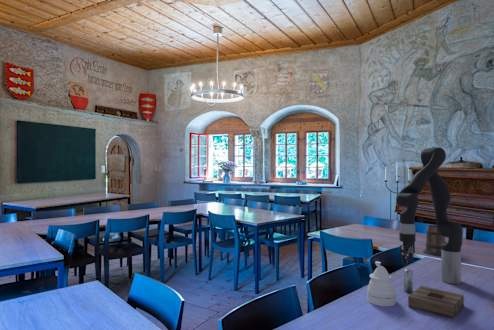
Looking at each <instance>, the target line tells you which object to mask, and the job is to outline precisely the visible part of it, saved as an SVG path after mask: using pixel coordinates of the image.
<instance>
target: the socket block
mask: <svg viewBox="0 0 494 330" xmlns="http://www.w3.org/2000/svg"><path fill="white" fill-rule="evenodd" d="M407 297H408V299H407V301H408V308H411V309H415V310H419V311H422V312H426V313H429V314H430V313H431V314H433V315H437V316H441V317H445V318H448V319H453V320H454V319H455V317H457V315H458V313H459V312H460V311H461V310H462V309H463V307H465V306H464V305H465V303H464V301H465V297H464V294H461V293H457V292H451V291H447V290H443V289H439V288H433V287H430V286H424V285H421V286H419V287H418V288H416V289H415V290H413V292H412V293H409V295H407Z"/></svg>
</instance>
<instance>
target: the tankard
mask: <svg viewBox="0 0 494 330" xmlns="http://www.w3.org/2000/svg"><path fill="white" fill-rule="evenodd" d="M425 234H426V237H425V238H426V239H425V240H426V241H425V249H424V250H423V251H422V253H423V254H424V255H427V256H432V257H442V255H441V245H442V244H444V243H448V242H447V241H446V237H444V236H441V235H440V234H439V232H438V229H437V224H428V225H427V227H426V231H425Z"/></svg>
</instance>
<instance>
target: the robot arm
mask: <svg viewBox="0 0 494 330" xmlns="http://www.w3.org/2000/svg"><path fill="white" fill-rule="evenodd" d="M446 158H447V154H446V150H445V149H444V148H443V147H427V148H423V149H422V150H421V151H420V161H421V164H422V167H423V168H422V169H420V170H419V171H417V172H416V173H415V174H414V175H413V176H412V177H411V179H410V181H409V182H408V183H407V185H406V186H405V187H404V188H402V189H401V190H400V191H399V192H398V193H397V195H396V197H395V198H396V199H395V201H396V204H397V205H398V206H399V207H406V210H404V211H400V212H399V229H398V230H399V231H398V232H399V235H398V236H399V241H400V242H402V244H400V245H399V257H400V258H401V265H402V266H404V267H406V266H408V262H409V263H414V255H415V253H416V245H415V244H416V243H415V242H416V238H417V237H416V219H415V218H416V213H417V209H418V206H419V198H418V194H421V192H422V190H424V187H425V185H426V184H427V183H428V188H429V192H430V196H431V200H432V203H433V209H434V214H435V221H436V225H437V229H438V232H439V234H440V235H441V236H444V237H445V238H448V239H447V241H448V242H447V243H444V244H442V245H441V255H442V256H441V281H442V282H445V283H448V284H453V285H459V284H462V254H461V253H462V252H461V251H462V246H463V234H464V233H463V227H462V224H461V223H460V222H458V221H452V220H449V219H448V212H447V210H448V208H449V206H450V203H451V198H452V197H451V191H450V188H449V185H448V184H447V182H446V181H445V180H444V178H443V177H442V176H441V175H440V174H439V173H438V171H437V170H438V169H439V168H440V167H441V166H442V165H443V163H444V162H445V160H446Z"/></svg>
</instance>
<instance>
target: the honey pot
mask: <svg viewBox="0 0 494 330" xmlns="http://www.w3.org/2000/svg"><path fill="white" fill-rule="evenodd" d="M381 263H382V262H381V261H374V264H375V265H376V268H375V269H374V270H373V273H370V274H369V278H370V280H369V282H368V286H367V287H366V292H367V293H366V295H367V296H366V297H367V299H366V300H367V301H368V302H369V303H370V304H372V305H374V306H381V307H392V306H395V305H396V304H397V291H396V289H395V286H394V283H393V280H392V278H393V277H392V275H390V274H389V272H388V271H387V269H386V268H385V267H384V266H383V265H381Z"/></svg>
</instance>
